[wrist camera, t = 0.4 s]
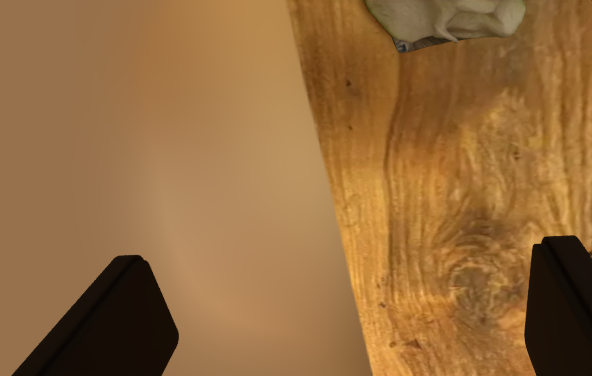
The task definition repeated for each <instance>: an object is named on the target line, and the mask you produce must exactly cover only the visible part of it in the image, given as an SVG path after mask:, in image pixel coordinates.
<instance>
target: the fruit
mask: <svg viewBox="0 0 592 376" xmlns="http://www.w3.org/2000/svg"><path fill="white" fill-rule="evenodd" d="M364 2H365V4H366V6H367V8H368V10H369V12H370V13H371V14H372V15H373V16H374V17H375V18H376V19H377V20H378V21H379V22H380V24H381V25H382V26H383V27H384V28H385V30H386V31H387V32H388V33H389V34H390V35H392V38H393V41H394V43H395V46H396V49H397V51H399V52H400V53H404V52H410V51H414V50H417V49H421V48H424V47H428V46H432V45H437V44H441V43H446V42H450V41H453V42H455V43H457V42H458V40H464V39H471V38H480V37H500V38H508V37H510V36H511V35H512V34H513V33H514V32H515V31H516V29H517V28H518V26H519V25H520V23H521V22H522V20H523V17H524V15H525V12H526V6H525V4H524V0H364Z"/></svg>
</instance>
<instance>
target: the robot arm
mask: <svg viewBox="0 0 592 376" xmlns="http://www.w3.org/2000/svg"><path fill="white" fill-rule="evenodd" d="M524 336H525V344H526V348H527V351H528V354H529V357H530V360H531V362H532V365H533V368H534V370H535V373H536V376H592V257H591V256H590V255H589V253H588V252H587V250H586V249H585V247H584V246H583V245H582V243H581V242H580V240H579V239H578V238H577V237H576V236H574V235H571V236H548V237H544V238H543V239H542V242H541V244H534V245H533V248H532V257H531V268H530V279H529V289H528V300H527V311H526V322H525V333H524ZM178 340H179V333H178V330H177V328H176V325H175V323H174V321H173V319H172V316H171V314H170V311H169V309H168V307H167V304H166V302H165V300H164V297H163V295H162V293H161V291H160V288H159V286H158V283H157V281H156V279H155V277H154V274H153V272H152V270H151V268H150V265H149V263H148V262H147V261H146V260H144V259H143V258H142V257H141V256H140V255H124V256H117V257H115V258H114V259H113V260H112V261H111V263H110V264H109V265H108V266H107V267H106V268H105V270H104V271H103V272H102V273H101V274H100V275H99V276H98V277H97V279H96V280H95V281H94V282H93V283H92V284H91V286H90V287H89V288H88V289H87V290H86V291H85V292H84V293H83V295H82V296H81V297H80V298H79V299H78V300H77V301H76V303H75V304H74V305H73V306H72V307H71V308H70V310H68V312H67V313H66V314H65V315H64V316H63V317H62V318H61V320H60V321H59V322H58V323H57V324H56V325H55V327H54V328H53V329H52V330H51V331H50V332H49V333H48V335H47V336H46V337H45V338H44V339H43V340H42V341H41V342H40V344H39V345H38V346H37V347H36V348H35V349H34V350H33V352H32V353H31V354H30V355H29V356H28V357H27V358H26V360H25V361H24V362H23V363H22V364H21V365H20V366H19V368H18V369H17V370H16V371H15V372H14V373H13V375H12V376H162V374H163V372H164V370H165V368H166V366H167V364H168V362H169V360H170V358H171V356H172V354H173V352H174V350H175V349H176V346H177V344H178Z"/></svg>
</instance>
